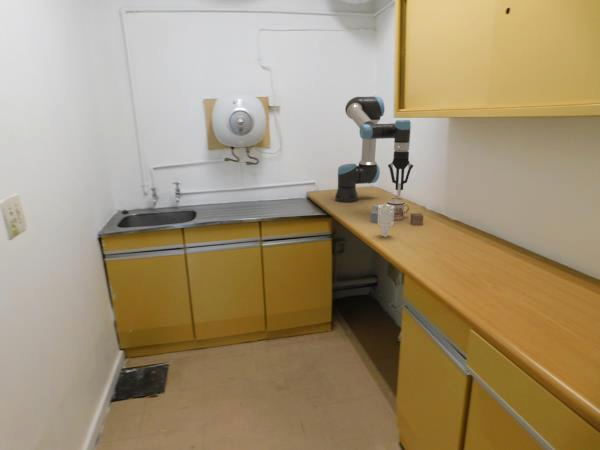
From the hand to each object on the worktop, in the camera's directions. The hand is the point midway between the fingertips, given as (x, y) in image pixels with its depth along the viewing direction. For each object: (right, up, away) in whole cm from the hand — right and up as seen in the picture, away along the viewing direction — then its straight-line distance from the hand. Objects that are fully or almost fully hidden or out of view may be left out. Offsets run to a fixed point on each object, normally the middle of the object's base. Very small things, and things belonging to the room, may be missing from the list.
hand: (398, 196), depth 198 cm
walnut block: (+7, -15, -8) cm, 18 cm away
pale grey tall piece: (-14, -21, -27) cm, 36 cm away
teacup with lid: (0, -12, +3) cm, 12 cm away
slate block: (-12, -14, -3) cm, 19 cm away
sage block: (-8, -9, +12) cm, 17 cm away
